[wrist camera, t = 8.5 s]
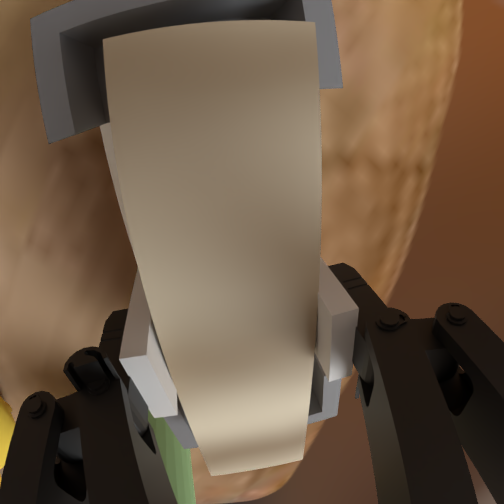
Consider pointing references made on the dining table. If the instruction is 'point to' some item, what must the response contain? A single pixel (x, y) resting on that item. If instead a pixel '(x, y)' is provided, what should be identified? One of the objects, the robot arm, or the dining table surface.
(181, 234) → the rail
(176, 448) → the mug
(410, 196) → the dining table surface
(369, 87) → the dining table surface
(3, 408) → the teapot
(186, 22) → the bracket board
